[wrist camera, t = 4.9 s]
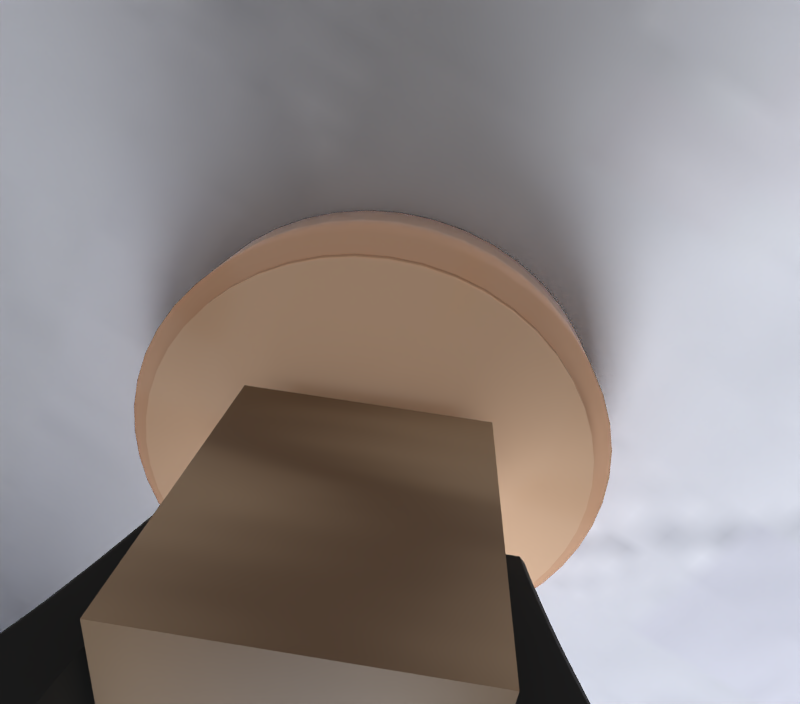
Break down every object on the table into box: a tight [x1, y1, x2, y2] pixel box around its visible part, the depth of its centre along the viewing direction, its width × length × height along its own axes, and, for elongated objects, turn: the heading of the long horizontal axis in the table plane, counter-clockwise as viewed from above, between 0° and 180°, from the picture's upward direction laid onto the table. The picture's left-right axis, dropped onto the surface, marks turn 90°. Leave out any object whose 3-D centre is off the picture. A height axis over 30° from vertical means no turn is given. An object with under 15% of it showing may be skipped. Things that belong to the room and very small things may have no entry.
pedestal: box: [134, 210, 612, 588], centre depth 13 cm, size 10×10×2 cm
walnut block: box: [80, 385, 519, 704], centre depth 9 cm, size 4×4×5 cm
